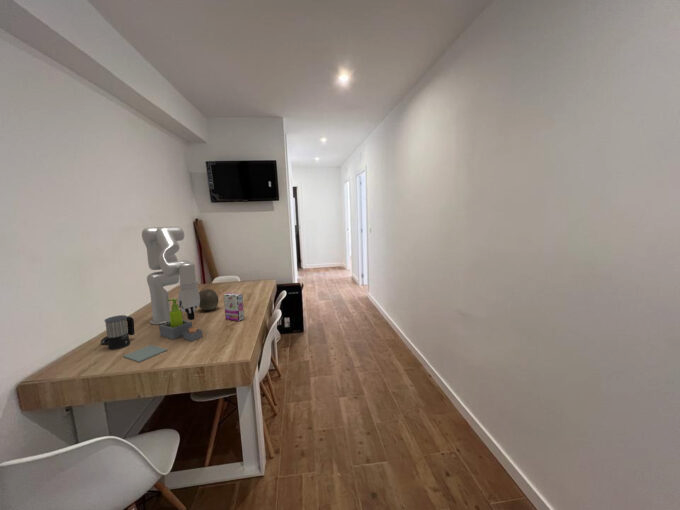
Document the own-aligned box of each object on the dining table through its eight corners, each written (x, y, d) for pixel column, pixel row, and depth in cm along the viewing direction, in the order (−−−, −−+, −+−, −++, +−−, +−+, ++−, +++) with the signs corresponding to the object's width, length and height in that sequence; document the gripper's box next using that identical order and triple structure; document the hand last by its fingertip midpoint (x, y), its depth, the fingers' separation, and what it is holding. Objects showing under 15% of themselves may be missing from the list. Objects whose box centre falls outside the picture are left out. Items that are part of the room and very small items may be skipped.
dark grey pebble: (212, 306, 216) (210, 286, 214) (223, 309, 208) (221, 288, 206) (193, 311, 205) (191, 290, 203) (204, 315, 197) (202, 293, 195)
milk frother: (123, 349, 147) (120, 320, 145) (88, 352, 145) (84, 323, 143) (138, 337, 161) (135, 311, 159) (106, 340, 159) (103, 313, 157)
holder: (160, 336, 162) (159, 325, 162) (179, 329, 172) (178, 319, 172) (187, 343, 152) (186, 332, 151) (206, 335, 162) (205, 324, 161)
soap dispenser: (172, 332, 168) (169, 298, 165) (185, 331, 168) (182, 297, 165) (167, 336, 162) (164, 301, 159) (180, 335, 162) (177, 300, 160)
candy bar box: (244, 319, 187) (243, 293, 185) (239, 321, 182) (237, 295, 180) (230, 317, 191) (229, 292, 189) (225, 319, 187) (223, 294, 185)
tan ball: (187, 334, 157) (186, 328, 157) (193, 331, 161) (193, 326, 161) (192, 335, 156) (191, 330, 155) (198, 332, 159) (198, 327, 159)
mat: (123, 356, 139) (123, 355, 139) (151, 345, 150) (151, 344, 150) (139, 362, 133) (139, 361, 133) (167, 350, 144) (167, 349, 144)
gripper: (196, 282, 163) (198, 313, 166) (170, 288, 150) (173, 322, 153) (205, 283, 160) (207, 316, 163) (179, 290, 147) (182, 325, 149)
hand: (191, 319), depth 158 cm, fingers closed
